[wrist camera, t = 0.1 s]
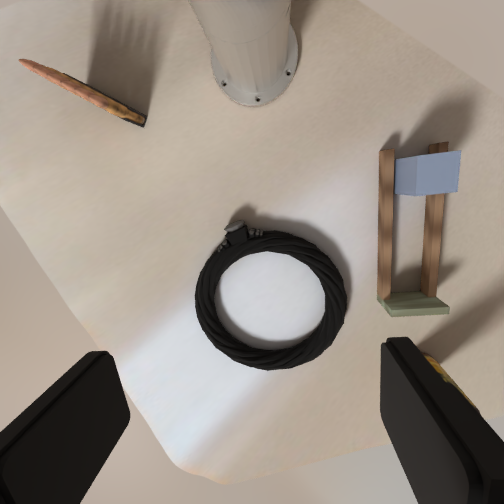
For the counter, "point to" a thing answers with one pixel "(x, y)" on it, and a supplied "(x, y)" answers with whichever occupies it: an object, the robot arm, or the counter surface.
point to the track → (426, 297)
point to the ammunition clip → (87, 93)
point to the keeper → (427, 174)
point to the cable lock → (277, 242)
